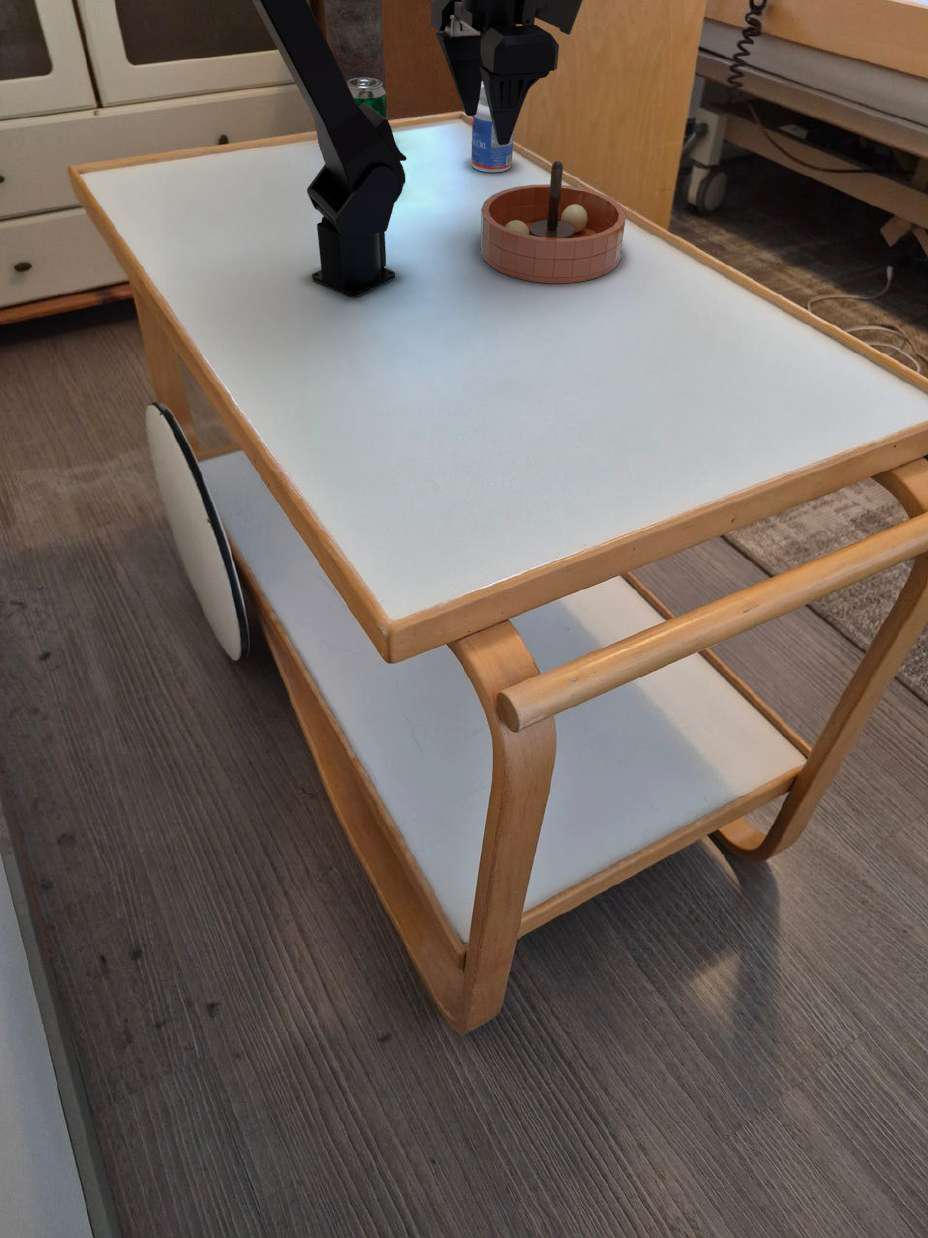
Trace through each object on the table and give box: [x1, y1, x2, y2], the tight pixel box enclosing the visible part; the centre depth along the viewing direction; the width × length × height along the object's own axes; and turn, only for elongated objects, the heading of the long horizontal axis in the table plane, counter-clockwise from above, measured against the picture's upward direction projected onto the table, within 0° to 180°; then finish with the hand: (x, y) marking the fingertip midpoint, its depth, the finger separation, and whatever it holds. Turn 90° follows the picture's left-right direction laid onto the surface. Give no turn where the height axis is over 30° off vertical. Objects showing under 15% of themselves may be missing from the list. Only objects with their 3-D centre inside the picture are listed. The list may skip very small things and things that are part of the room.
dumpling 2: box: [561, 204, 588, 233], centre depth 103 cm, size 3×3×3 cm
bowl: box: [479, 183, 627, 284], centre depth 100 cm, size 16×16×4 cm
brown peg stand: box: [529, 160, 575, 238], centre depth 98 cm, size 5×5×9 cm
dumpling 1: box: [505, 220, 529, 235], centre depth 99 cm, size 3×3×3 cm
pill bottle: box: [470, 81, 515, 173], centre depth 116 cm, size 6×5×10 cm
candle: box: [323, 0, 389, 121], centre depth 117 cm, size 8×7×20 cm
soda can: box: [346, 78, 388, 119], centre depth 109 cm, size 5×5×12 cm
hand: (486, 129), depth 91 cm, fingers open, 9 cm apart
